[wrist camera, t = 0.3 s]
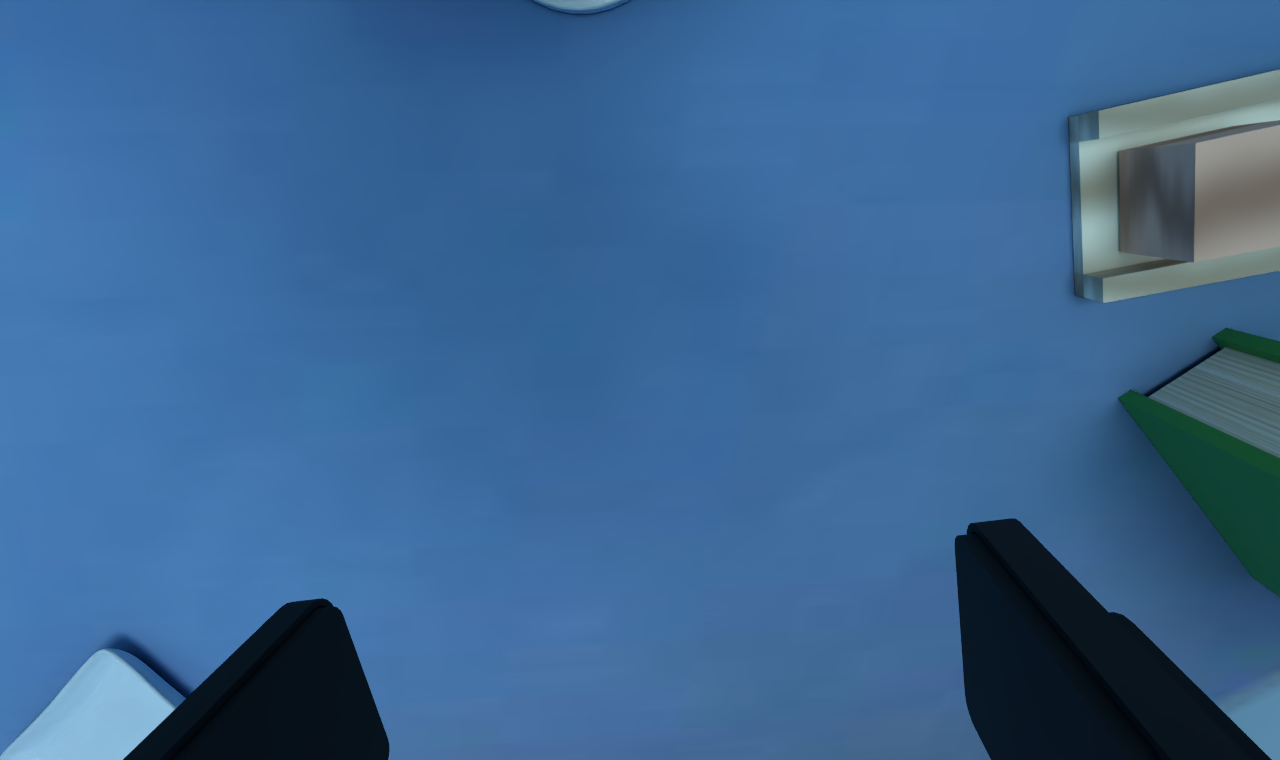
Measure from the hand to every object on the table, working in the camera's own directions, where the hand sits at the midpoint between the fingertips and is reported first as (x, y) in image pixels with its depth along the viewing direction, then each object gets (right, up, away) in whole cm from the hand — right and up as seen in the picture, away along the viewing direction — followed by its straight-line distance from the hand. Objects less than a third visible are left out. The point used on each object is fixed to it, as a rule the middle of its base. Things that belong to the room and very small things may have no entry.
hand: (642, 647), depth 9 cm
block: (+32, +15, +28) cm, 45 cm away
